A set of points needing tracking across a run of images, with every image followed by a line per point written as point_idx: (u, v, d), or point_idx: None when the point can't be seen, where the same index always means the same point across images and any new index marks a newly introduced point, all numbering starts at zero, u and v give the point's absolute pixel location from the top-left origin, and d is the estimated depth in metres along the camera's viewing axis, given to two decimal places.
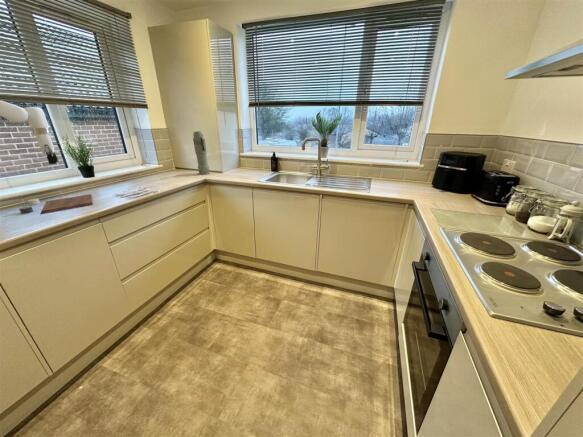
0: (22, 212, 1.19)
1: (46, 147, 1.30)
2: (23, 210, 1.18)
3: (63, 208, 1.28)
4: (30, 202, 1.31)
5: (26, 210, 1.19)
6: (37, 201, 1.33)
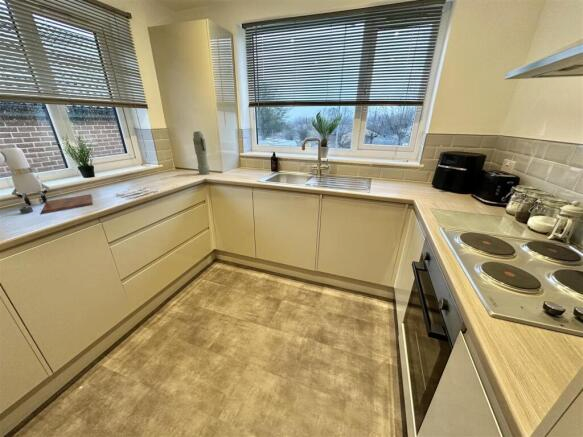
0: (22, 212, 1.19)
1: None
2: (23, 210, 1.18)
3: (63, 208, 1.28)
4: (31, 202, 1.32)
5: (26, 210, 1.19)
6: (38, 201, 1.33)
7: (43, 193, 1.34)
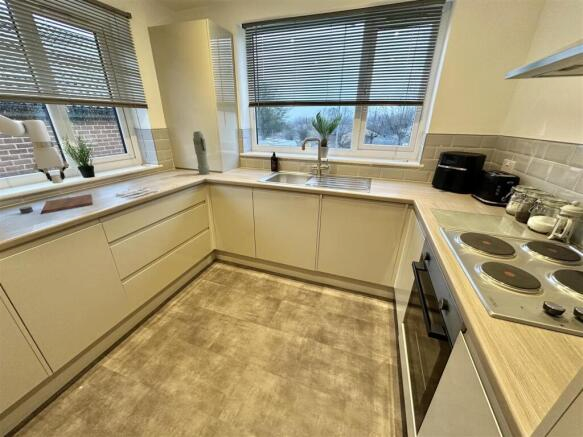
0: (22, 212, 1.19)
1: None
2: (23, 210, 1.18)
3: (63, 208, 1.28)
4: (52, 177, 1.29)
5: (26, 210, 1.19)
6: (59, 177, 1.30)
7: (62, 169, 1.31)
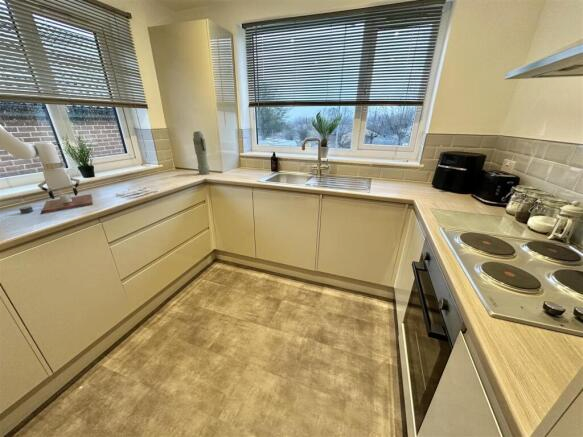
0: (22, 212, 1.19)
1: (40, 183, 1.27)
2: (23, 210, 1.18)
3: (63, 208, 1.28)
4: (62, 197, 1.33)
5: (26, 210, 1.19)
6: (68, 196, 1.35)
7: (74, 186, 1.35)
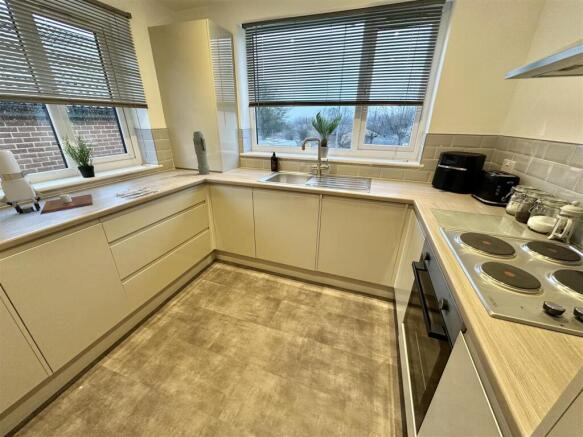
0: (23, 212, 1.19)
1: None
2: (24, 210, 1.19)
3: (63, 208, 1.28)
4: (62, 197, 1.33)
5: (27, 210, 1.19)
6: (68, 196, 1.35)
7: (36, 200, 1.21)
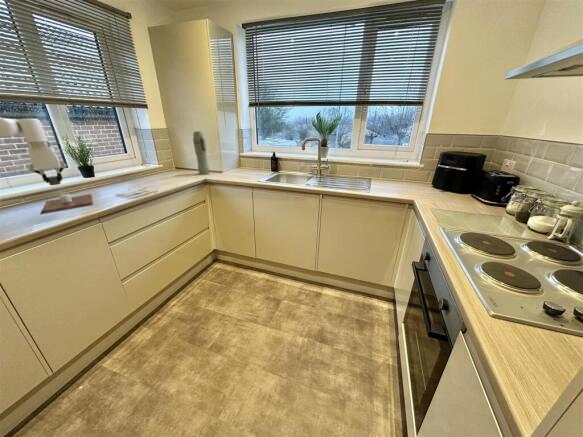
0: (50, 181, 1.23)
1: (30, 166, 1.18)
2: (51, 179, 1.23)
3: (63, 208, 1.28)
4: (62, 197, 1.33)
5: (53, 179, 1.23)
6: (68, 196, 1.35)
7: (59, 171, 1.25)
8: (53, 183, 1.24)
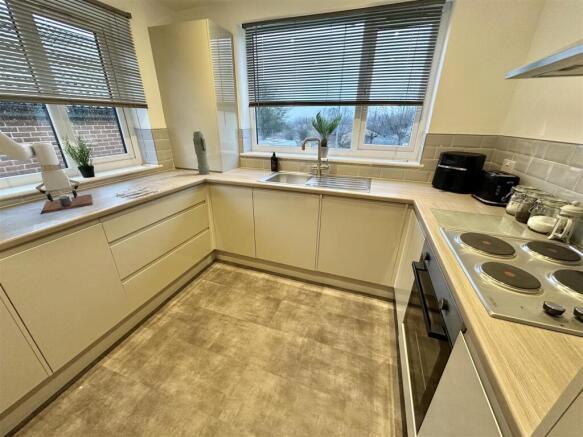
0: (61, 201, 1.28)
1: None
2: (62, 200, 1.28)
3: (63, 208, 1.28)
4: None
5: (65, 200, 1.29)
6: (68, 196, 1.35)
7: (74, 188, 1.30)
8: (65, 204, 1.29)
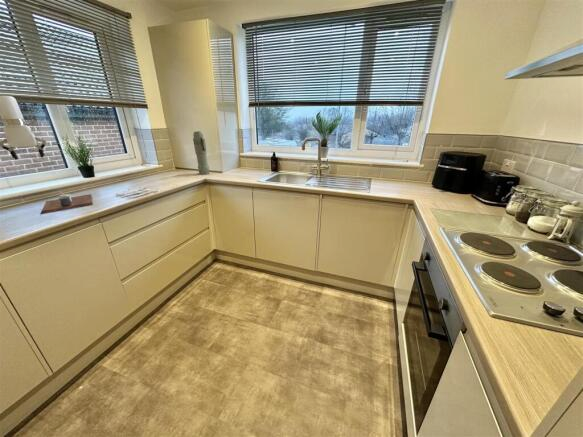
0: (61, 201, 1.28)
1: (1, 141, 1.18)
2: (62, 200, 1.28)
3: (63, 208, 1.28)
4: None
5: (65, 200, 1.29)
6: (68, 196, 1.35)
7: (40, 147, 1.26)
8: (65, 204, 1.29)
